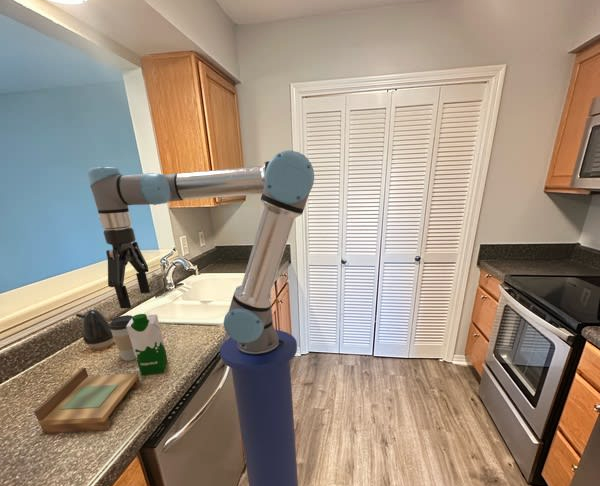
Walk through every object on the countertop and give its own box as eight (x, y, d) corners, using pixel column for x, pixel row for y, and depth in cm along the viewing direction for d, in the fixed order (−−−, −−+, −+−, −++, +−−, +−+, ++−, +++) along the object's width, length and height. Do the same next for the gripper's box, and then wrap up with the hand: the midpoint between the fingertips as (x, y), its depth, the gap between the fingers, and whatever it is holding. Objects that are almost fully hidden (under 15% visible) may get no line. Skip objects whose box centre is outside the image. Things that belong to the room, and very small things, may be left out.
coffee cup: (121, 352, 120) (110, 315, 114) (147, 347, 123) (137, 311, 117) (116, 364, 112) (104, 324, 107) (144, 359, 115) (134, 320, 109)
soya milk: (138, 377, 104) (121, 321, 96) (144, 363, 112) (129, 310, 104) (166, 373, 105) (152, 317, 97) (170, 360, 113) (158, 307, 105)
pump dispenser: (92, 342, 129) (80, 307, 123) (120, 338, 131) (109, 303, 125) (82, 354, 120) (69, 317, 114) (112, 350, 122) (101, 313, 116)
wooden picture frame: (140, 384, 100) (135, 364, 98) (106, 429, 82) (98, 407, 79) (89, 386, 100) (82, 367, 97) (43, 433, 82) (33, 411, 79)
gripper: (125, 223, 102) (141, 287, 110) (77, 236, 79) (102, 316, 87) (149, 222, 102) (163, 286, 110) (108, 234, 79) (130, 314, 87)
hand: (136, 299), depth 99 cm, fingers open, 13 cm apart
